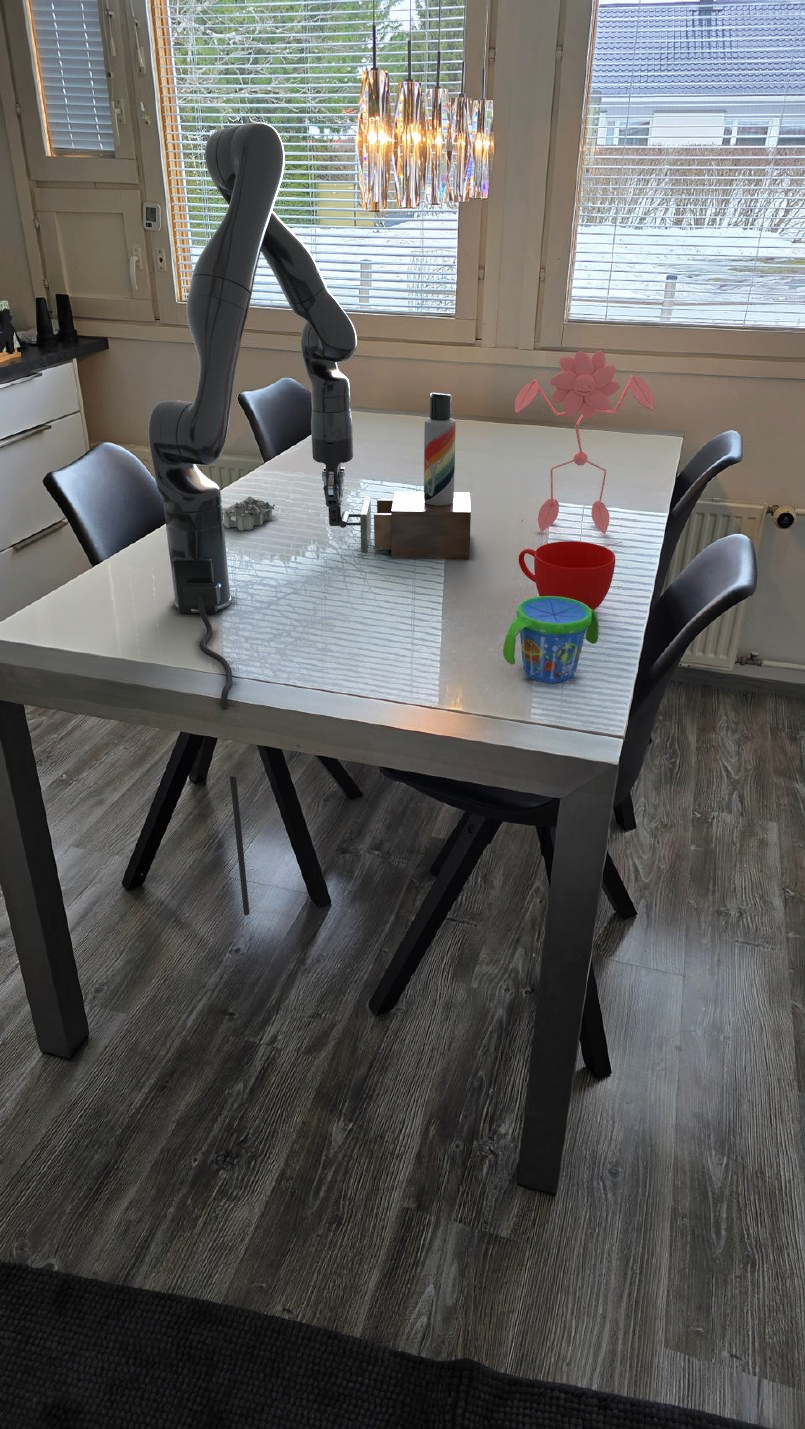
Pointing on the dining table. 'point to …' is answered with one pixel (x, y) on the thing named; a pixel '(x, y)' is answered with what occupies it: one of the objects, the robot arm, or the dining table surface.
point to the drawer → (380, 523)
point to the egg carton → (247, 514)
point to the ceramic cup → (571, 571)
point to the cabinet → (430, 527)
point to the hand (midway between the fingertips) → (335, 524)
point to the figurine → (583, 413)
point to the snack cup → (551, 636)
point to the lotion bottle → (439, 452)
